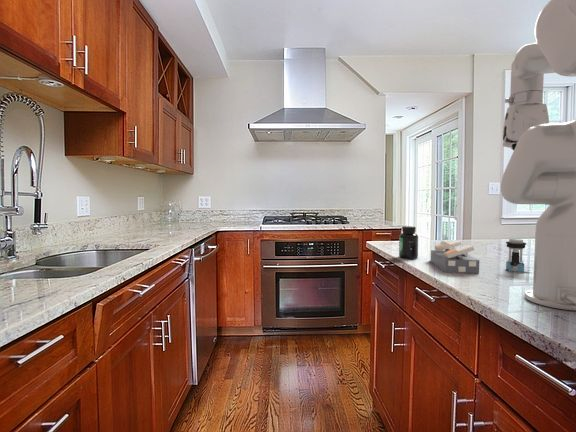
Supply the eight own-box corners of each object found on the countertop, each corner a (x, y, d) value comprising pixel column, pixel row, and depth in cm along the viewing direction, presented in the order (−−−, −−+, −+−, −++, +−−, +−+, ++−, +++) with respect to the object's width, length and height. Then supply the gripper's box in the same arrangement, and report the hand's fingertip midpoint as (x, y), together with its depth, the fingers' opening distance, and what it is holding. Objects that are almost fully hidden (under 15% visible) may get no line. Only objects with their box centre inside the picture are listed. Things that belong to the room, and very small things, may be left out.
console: (479, 273, 103) (479, 256, 103) (444, 272, 105) (445, 255, 105) (459, 261, 121) (460, 247, 121) (430, 260, 123) (431, 246, 123)
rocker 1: (461, 244, 116) (460, 241, 116) (438, 251, 118) (437, 247, 118) (458, 243, 120) (456, 239, 120) (435, 249, 122) (434, 245, 122)
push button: (529, 270, 107) (530, 239, 106) (531, 273, 102) (532, 241, 102) (504, 268, 110) (505, 238, 110) (505, 271, 106) (506, 240, 105)
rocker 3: (474, 250, 104) (472, 245, 104) (448, 258, 106) (446, 254, 106) (469, 248, 108) (468, 243, 108) (444, 256, 110) (443, 252, 110)
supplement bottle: (399, 259, 127) (399, 227, 126) (398, 255, 133) (399, 225, 133) (418, 259, 125) (419, 227, 124) (417, 256, 131) (417, 226, 131)
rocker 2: (466, 255, 110) (468, 252, 110) (443, 246, 112) (445, 242, 111) (462, 253, 114) (464, 250, 114) (439, 244, 116) (441, 240, 115)
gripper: (502, 99, 92) (500, 166, 93) (564, 96, 89) (561, 165, 90) (491, 106, 99) (489, 168, 100) (547, 103, 96) (545, 167, 97)
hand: (523, 167), depth 95 cm, fingers closed
